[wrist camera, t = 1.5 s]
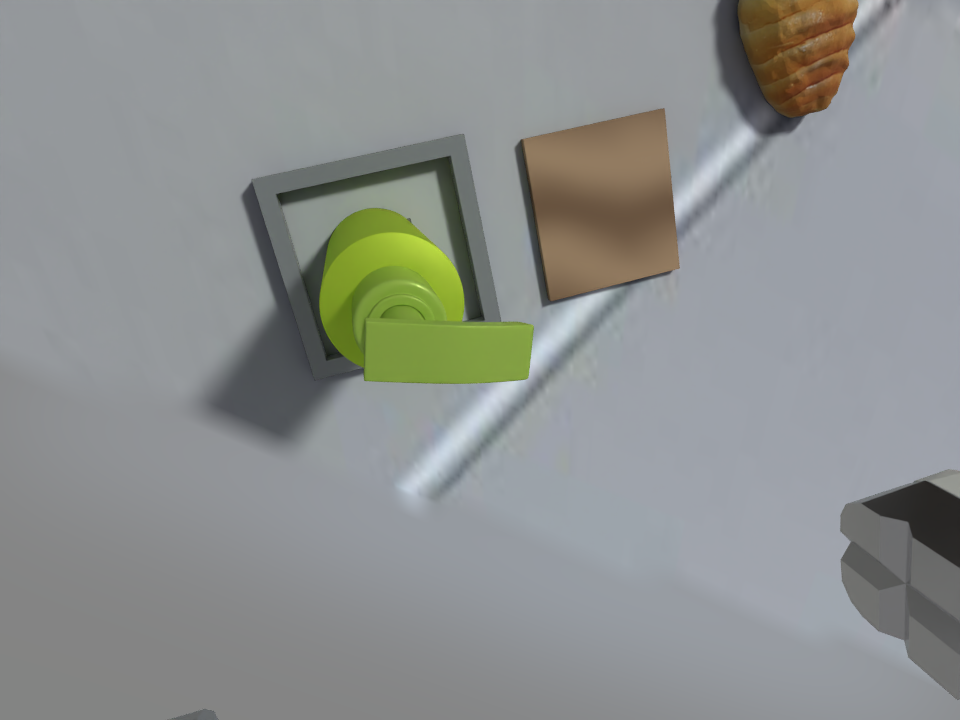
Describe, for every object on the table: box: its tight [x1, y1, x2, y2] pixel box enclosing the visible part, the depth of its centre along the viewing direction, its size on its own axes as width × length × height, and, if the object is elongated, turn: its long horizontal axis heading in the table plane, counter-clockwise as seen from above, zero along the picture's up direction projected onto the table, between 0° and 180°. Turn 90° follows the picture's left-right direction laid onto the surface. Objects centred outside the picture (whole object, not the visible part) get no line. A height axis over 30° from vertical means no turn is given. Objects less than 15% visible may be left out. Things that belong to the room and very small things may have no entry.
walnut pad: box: [521, 108, 680, 301], centre depth 40 cm, size 10×9×1 cm
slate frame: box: [252, 134, 501, 380], centre depth 38 cm, size 12×12×1 cm
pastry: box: [737, 0, 858, 118], centre depth 38 cm, size 9×7×4 cm
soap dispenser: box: [319, 208, 534, 384], centre depth 29 cm, size 6×7×20 cm
